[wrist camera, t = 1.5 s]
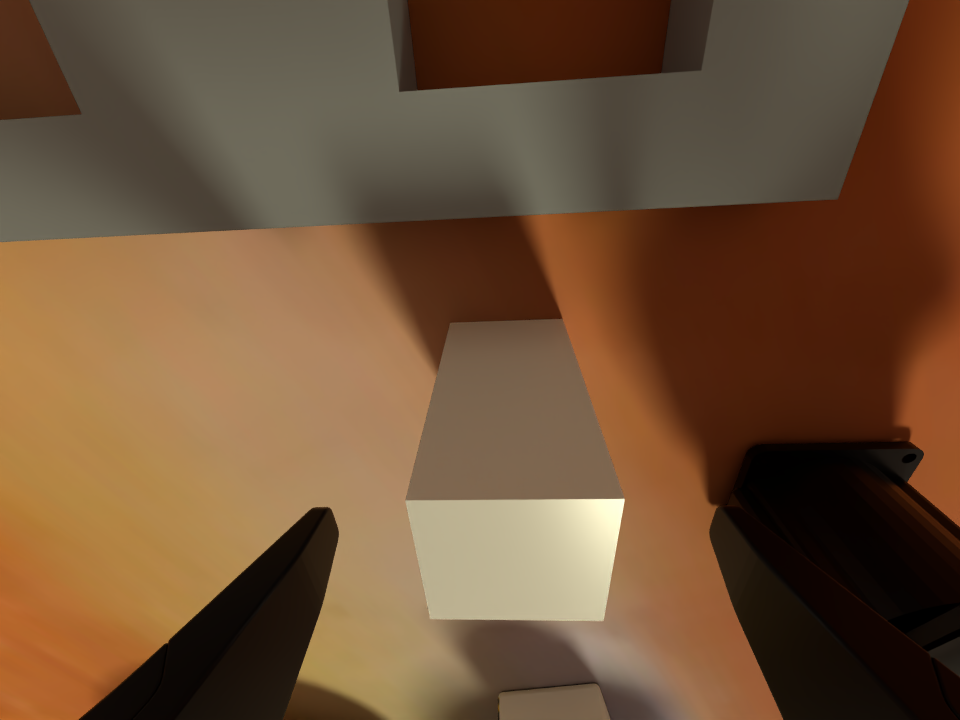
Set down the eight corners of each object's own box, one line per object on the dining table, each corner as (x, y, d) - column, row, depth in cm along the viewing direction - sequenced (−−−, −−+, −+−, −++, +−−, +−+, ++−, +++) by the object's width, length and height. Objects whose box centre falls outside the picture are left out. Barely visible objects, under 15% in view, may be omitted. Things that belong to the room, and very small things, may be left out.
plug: (562, 318, 14) (624, 498, 7) (558, 410, 16) (603, 621, 9) (449, 322, 14) (405, 500, 7) (458, 412, 16) (430, 619, 9)
